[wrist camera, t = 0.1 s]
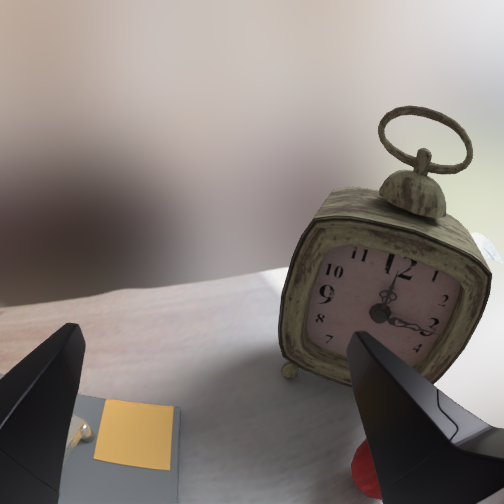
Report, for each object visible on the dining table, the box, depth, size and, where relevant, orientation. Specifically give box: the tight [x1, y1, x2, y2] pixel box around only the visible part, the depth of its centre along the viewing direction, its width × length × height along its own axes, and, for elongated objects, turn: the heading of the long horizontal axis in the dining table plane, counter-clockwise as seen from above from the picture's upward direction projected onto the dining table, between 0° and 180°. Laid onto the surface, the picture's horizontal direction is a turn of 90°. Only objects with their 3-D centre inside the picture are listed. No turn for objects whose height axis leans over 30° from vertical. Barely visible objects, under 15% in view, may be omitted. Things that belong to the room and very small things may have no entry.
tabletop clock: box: [278, 106, 492, 387], centre depth 22 cm, size 14×9×25 cm, turn 66°
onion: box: [351, 438, 382, 500], centre depth 16 cm, size 6×6×8 cm
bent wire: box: [59, 415, 95, 497], centre depth 14 cm, size 7×6×2 cm
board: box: [0, 374, 181, 504], centre depth 15 cm, size 14×20×1 cm
